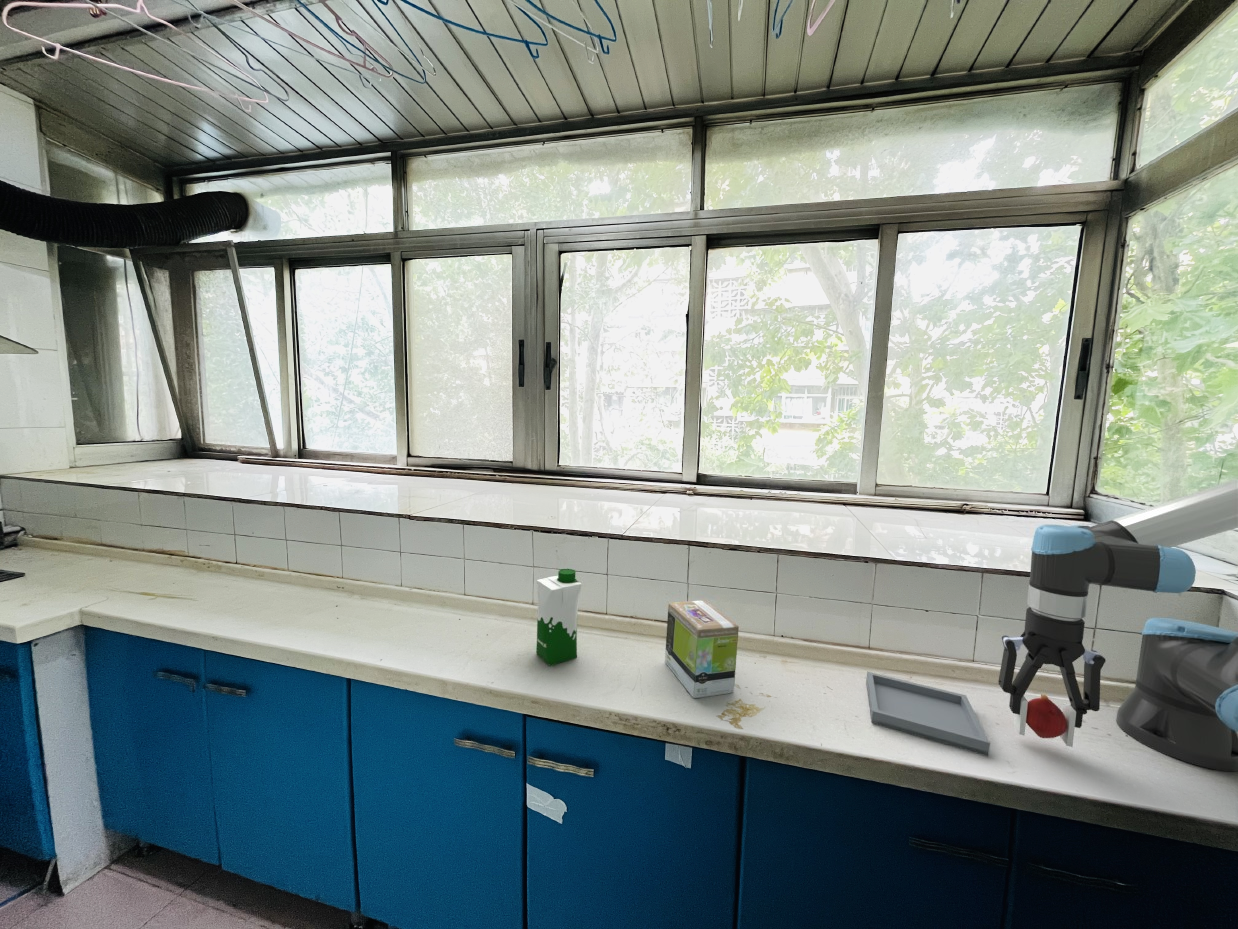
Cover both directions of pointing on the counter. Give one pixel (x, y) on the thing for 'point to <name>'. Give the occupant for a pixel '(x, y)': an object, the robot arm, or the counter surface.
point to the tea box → (701, 648)
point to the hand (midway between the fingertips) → (1042, 735)
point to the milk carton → (557, 617)
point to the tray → (925, 713)
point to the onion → (1045, 718)
